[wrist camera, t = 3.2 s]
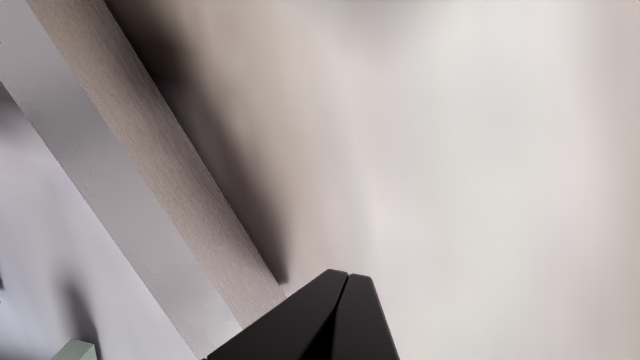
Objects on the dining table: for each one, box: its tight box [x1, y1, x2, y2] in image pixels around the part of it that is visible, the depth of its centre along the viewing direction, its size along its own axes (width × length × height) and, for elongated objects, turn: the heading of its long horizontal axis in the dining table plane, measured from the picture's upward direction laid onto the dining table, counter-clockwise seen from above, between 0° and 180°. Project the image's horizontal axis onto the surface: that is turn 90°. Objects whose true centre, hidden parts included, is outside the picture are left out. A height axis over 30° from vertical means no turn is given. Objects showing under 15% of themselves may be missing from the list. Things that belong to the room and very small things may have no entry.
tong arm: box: [0, 0, 286, 360], centre depth 12 cm, size 3×20×3 cm, turn 29°
